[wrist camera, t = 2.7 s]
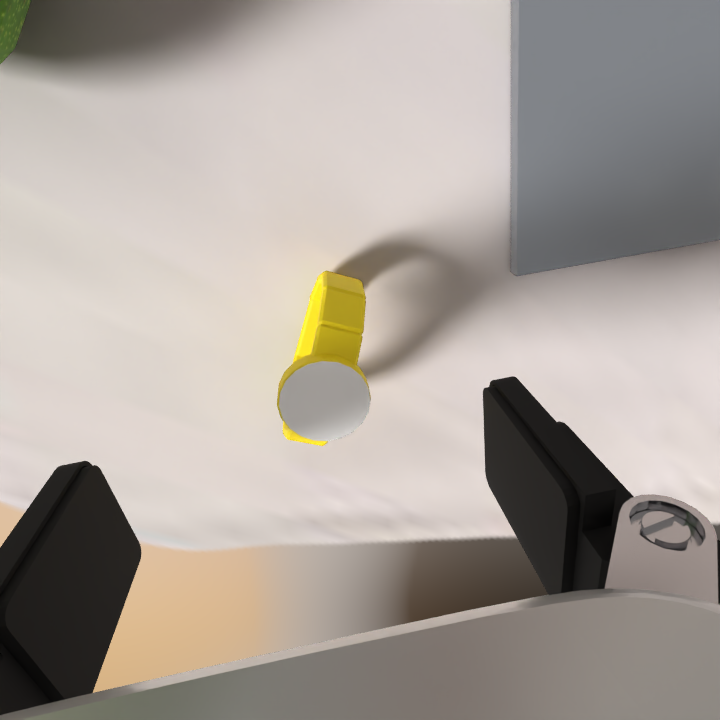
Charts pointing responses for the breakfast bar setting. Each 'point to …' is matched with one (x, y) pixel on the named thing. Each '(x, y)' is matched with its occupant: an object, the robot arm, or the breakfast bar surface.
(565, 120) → the slate coaster
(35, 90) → the breakfast bar surface
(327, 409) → the watch
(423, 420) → the breakfast bar surface
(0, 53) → the avocado
